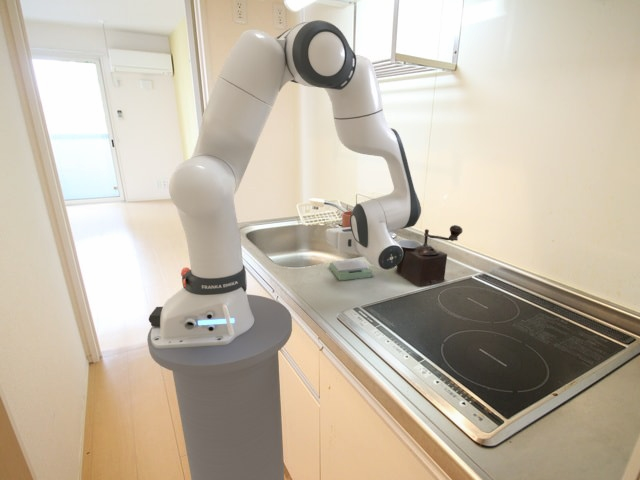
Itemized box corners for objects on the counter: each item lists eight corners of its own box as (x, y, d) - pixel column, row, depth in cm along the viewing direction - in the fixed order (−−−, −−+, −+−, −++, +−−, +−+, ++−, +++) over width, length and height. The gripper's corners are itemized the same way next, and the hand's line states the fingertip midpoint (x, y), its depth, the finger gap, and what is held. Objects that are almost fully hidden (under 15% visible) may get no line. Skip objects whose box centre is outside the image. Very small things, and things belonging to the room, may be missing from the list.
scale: (339, 280, 115) (340, 273, 114) (329, 268, 124) (329, 261, 123) (371, 276, 118) (372, 269, 117) (359, 265, 128) (359, 258, 127)
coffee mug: (405, 278, 117) (407, 249, 113) (388, 270, 124) (390, 242, 120) (431, 272, 123) (434, 244, 120) (413, 264, 130) (416, 237, 126)
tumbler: (345, 250, 114) (346, 216, 110) (339, 244, 120) (339, 211, 116) (364, 248, 116) (365, 215, 112) (357, 242, 122) (358, 210, 118)
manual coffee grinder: (420, 287, 111) (426, 231, 105) (399, 275, 120) (404, 222, 114) (458, 279, 118) (466, 226, 112) (436, 268, 127) (442, 218, 121)
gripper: (400, 227, 107) (380, 216, 119) (334, 232, 100) (320, 220, 112) (398, 247, 109) (379, 234, 121) (334, 253, 102) (320, 239, 114)
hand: (351, 227), depth 117 cm, fingers closed on tumbler, 6 cm apart
